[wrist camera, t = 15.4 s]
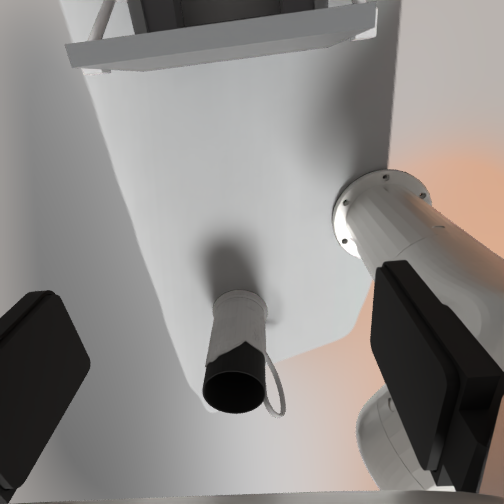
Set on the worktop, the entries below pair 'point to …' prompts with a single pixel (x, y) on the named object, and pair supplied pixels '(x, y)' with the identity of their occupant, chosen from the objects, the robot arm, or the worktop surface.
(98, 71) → the case
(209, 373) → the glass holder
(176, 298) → the worktop surface
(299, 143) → the worktop surface
